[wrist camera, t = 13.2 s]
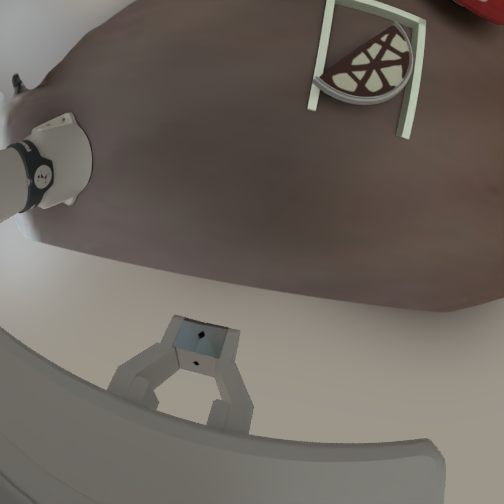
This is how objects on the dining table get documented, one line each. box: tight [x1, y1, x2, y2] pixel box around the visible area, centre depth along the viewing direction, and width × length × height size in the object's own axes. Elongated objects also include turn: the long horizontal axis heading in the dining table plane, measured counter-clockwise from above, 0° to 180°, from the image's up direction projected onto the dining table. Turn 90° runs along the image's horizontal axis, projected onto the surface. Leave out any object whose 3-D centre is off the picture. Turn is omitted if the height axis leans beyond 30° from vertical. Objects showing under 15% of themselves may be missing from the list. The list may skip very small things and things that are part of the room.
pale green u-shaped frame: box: [308, 0, 426, 139], centre depth 24 cm, size 13×18×3 cm
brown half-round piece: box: [312, 21, 413, 105], centre depth 23 cm, size 12×6×10 cm, turn 134°
